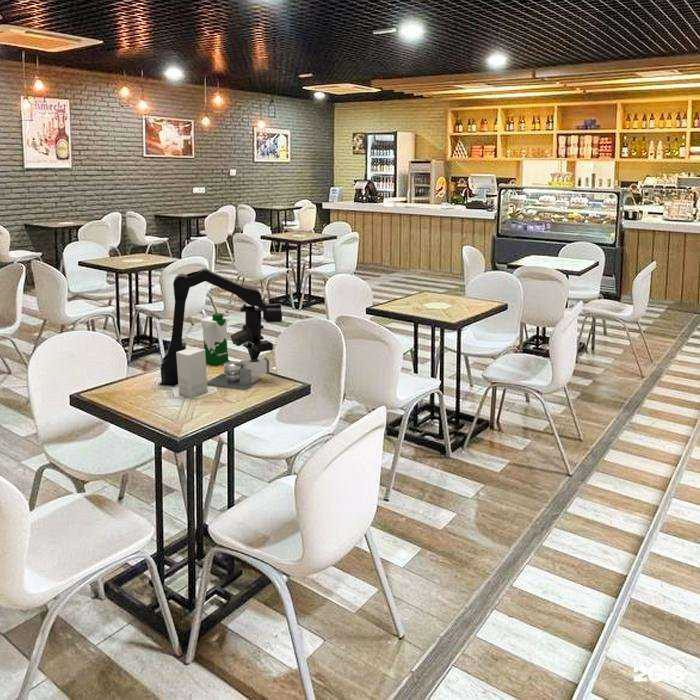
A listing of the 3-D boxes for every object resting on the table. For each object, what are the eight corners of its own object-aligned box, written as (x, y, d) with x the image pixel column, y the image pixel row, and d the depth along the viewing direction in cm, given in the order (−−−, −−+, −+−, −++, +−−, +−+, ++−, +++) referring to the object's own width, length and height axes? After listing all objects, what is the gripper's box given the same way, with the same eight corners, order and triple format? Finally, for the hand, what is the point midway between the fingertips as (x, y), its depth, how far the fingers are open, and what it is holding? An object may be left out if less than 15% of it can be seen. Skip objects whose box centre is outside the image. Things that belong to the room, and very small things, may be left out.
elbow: (226, 379, 259) (225, 365, 258) (222, 374, 265) (222, 360, 264) (270, 374, 264) (269, 361, 263) (266, 369, 270) (265, 356, 269)
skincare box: (195, 388, 258) (193, 346, 254) (209, 392, 254) (206, 349, 250) (177, 394, 251) (175, 351, 247) (191, 398, 247) (188, 354, 243)
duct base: (205, 385, 261) (204, 368, 259) (222, 376, 272) (221, 359, 270) (246, 390, 256) (245, 372, 254) (261, 380, 267) (260, 363, 265)
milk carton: (216, 367, 283) (213, 317, 278) (200, 363, 288) (197, 314, 283) (232, 362, 290) (230, 313, 285) (216, 358, 295) (213, 310, 290)
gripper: (221, 319, 266) (222, 360, 270) (246, 331, 252) (246, 374, 256) (248, 316, 272) (248, 355, 277) (273, 327, 258) (273, 369, 263)
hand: (253, 363), depth 268 cm, fingers closed
